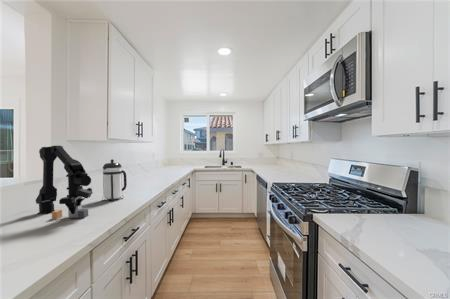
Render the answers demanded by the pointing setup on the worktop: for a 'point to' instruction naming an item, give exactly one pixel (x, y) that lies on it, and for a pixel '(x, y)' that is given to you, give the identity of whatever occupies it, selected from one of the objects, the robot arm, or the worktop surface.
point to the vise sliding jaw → (56, 214)
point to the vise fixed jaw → (82, 213)
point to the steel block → (77, 208)
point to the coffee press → (113, 180)
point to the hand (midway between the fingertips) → (75, 213)
